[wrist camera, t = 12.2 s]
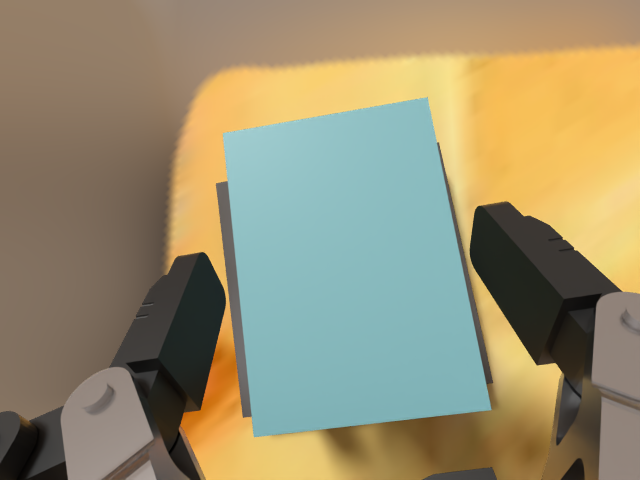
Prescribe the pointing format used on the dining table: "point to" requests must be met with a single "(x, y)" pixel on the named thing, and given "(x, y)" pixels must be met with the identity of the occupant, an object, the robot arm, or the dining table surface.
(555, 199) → the dining table surface
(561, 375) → the robot arm
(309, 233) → the teal book
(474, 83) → the dining table surface
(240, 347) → the book stand
